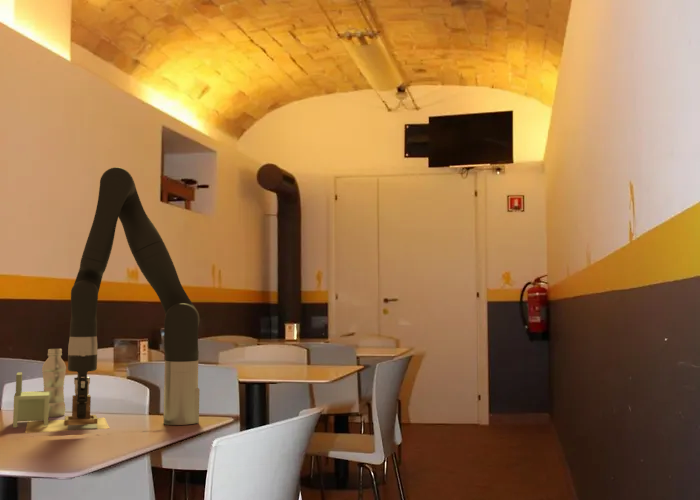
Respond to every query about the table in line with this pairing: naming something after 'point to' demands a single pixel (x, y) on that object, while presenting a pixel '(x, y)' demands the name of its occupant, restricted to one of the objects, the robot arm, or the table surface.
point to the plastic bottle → (54, 382)
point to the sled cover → (30, 404)
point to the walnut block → (74, 407)
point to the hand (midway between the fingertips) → (80, 416)
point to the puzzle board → (67, 425)
